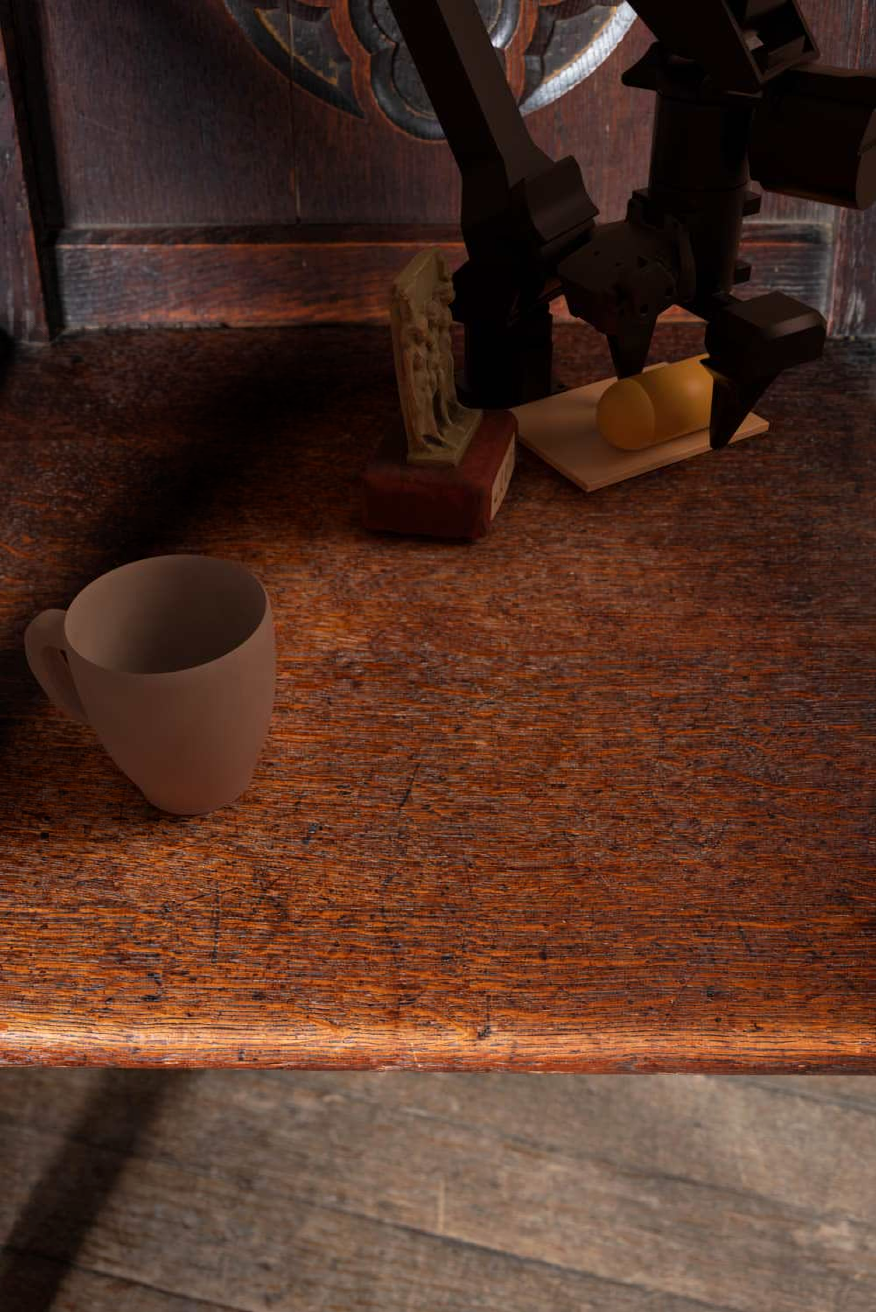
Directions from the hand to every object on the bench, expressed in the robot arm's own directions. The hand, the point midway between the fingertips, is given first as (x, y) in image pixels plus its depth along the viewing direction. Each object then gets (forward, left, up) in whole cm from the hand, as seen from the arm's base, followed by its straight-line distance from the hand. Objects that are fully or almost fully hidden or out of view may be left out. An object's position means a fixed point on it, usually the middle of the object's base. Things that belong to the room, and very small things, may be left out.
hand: (671, 418), depth 82 cm
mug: (+12, -40, -2) cm, 42 cm away
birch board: (-3, -1, -2) cm, 4 cm away
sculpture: (-2, -16, -2) cm, 17 cm away
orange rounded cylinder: (0, +1, -1) cm, 2 cm away
